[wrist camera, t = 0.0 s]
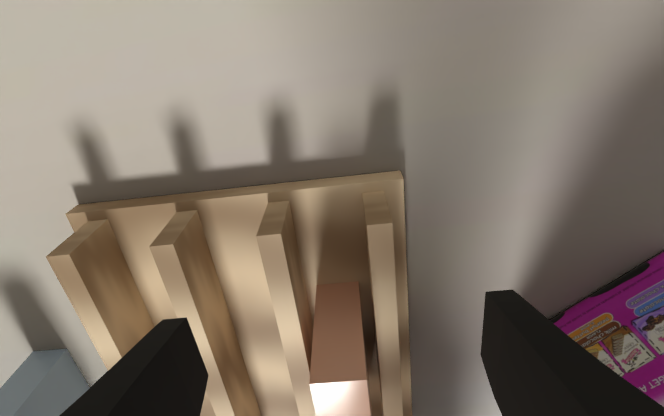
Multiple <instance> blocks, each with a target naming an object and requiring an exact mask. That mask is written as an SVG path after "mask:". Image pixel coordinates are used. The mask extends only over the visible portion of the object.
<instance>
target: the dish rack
mask: <svg viewBox="0 0 664 416" xmlns="http://www.w3.org/2000/svg"><path fill="white" fill-rule="evenodd" d="M66 216H67V218H68V220H69V222H70V224H71V226H72V228H73V230H74V232H75V233H73V234H72V235H71V236H70V237H69V238H67V239H66V240H65V241H64V242H63V243H62V244H60V245H59V246H58V247H57V248H56V249H54V250H53V251H52V252H51V253H50V254H49V255H47V256H46V258H47V260H48V262H49V263H50V265H51V267H52V269H53V271H54V273H55V274H56V276H57V278H58V280H59V282H60V284H61V285H62V287H63V289H64V291H65V293H66V294H67V296H68V298H69V300H70V302H71V304H72V305H73V307H74V309H75V311H76V313H77V315H78V316H79V318H80V320H81V322H82V324H83V326H84V327H85V329H86V331H87V333H88V335H89V337H90V338H91V340H92V342H93V344H94V346H95V348H96V349H97V351H98V353H99V355H100V357H101V359H102V360H103V362H104V364H105V366H106V368H107V370H110V369H111V368H112V367H113V366H114V365H115V364H116V363H117V362H118V361H119V360H120V359H121V358H122V357H123V356H124V355H125V354H126V353H127V352H128V351H129V350H130V349H132V348H133V347H134V346H135V345H136V344H137V343H138V342H139V341H140V340H141V339H142V338H143V337H144V336H145V335H146V334H147V333H148V332H149V331H150V330H152V329H153V328H154V327H155V326H156V325H157V324H158V323H159V322H161V321H162V320H163V319H174V318H186V317H187V320H188V322H189V325H190V328H191V330H192V333H193V335H194V338H195V341H196V343H197V346H198V349H199V351H200V354H201V357H202V359H203V362H204V364H205V367H206V370H207V372H208V375H209V376H208V381H207V386H206V391H205V396H204V400H203V405H202V409H201V413H200V416H316V413H315V408H314V403H313V399H312V394H311V389H310V385H309V383H310V369H311V355H312V341H313V327H314V313H315V299H316V285H322V284H334V283H345V282H356V281H359V290H360V299H361V308H362V318H363V327H364V336H365V345H366V354H367V364H368V373H369V384H370V395H371V406H372V416H412V396H411V370H410V343H409V316H408V289H407V262H406V235H405V208H404V181H403V176H402V174H401V171H391V172H381V173H372V174H362V175H353V176H343V177H334V178H324V179H315V180H306V181H296V182H287V183H277V184H268V185H258V186H249V187H240V188H230V189H221V190H211V191H202V192H192V193H183V194H173V195H164V196H155V197H145V198H136V199H126V200H117V201H107V202H98V203H89V204H79V205H77V206H76V207H74V208H73V209H72V210H70V211H69V212H68V213H66Z"/></svg>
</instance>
